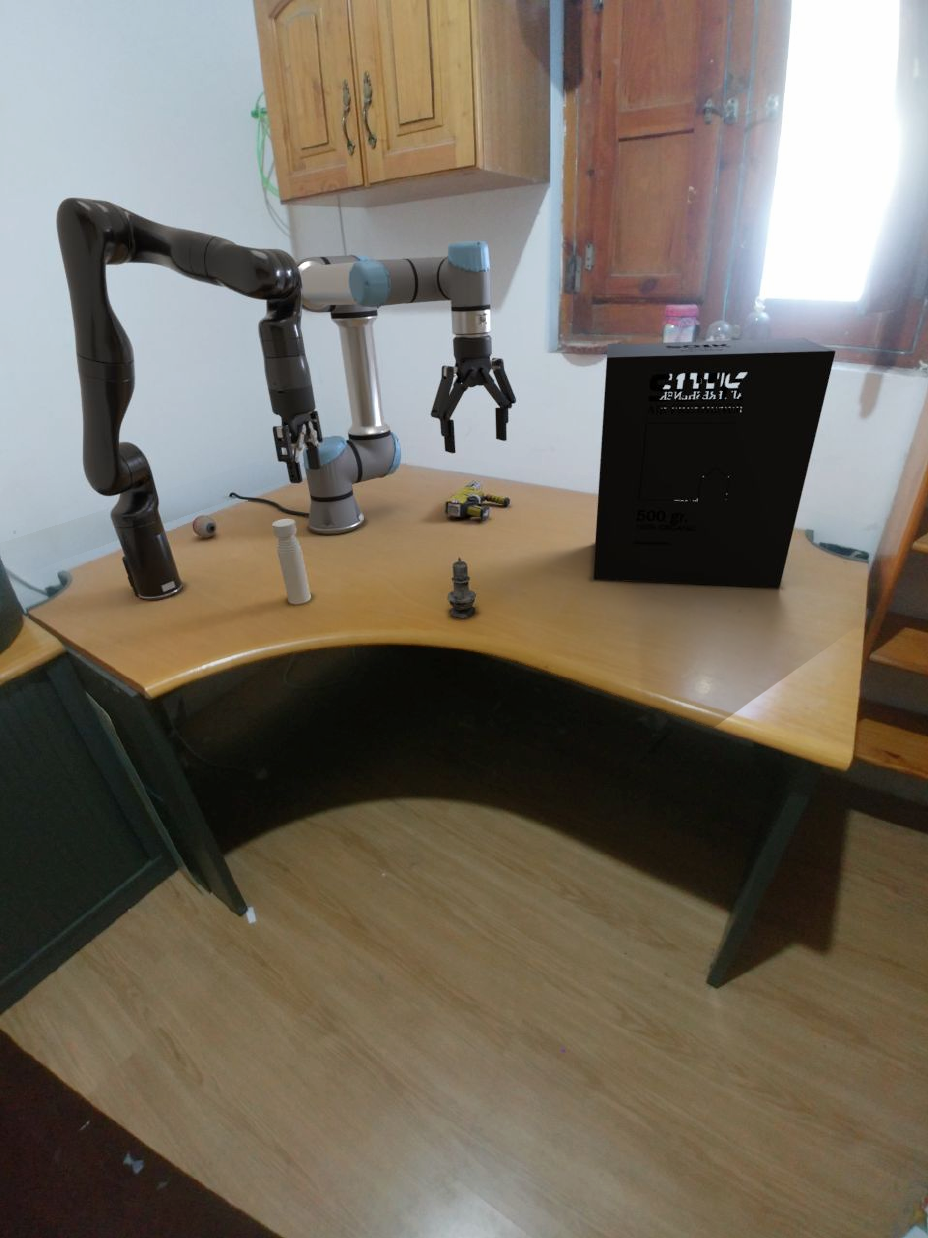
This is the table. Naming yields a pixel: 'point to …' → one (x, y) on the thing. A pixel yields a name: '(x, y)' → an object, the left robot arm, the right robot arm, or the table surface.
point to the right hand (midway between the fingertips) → (476, 445)
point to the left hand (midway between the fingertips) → (306, 475)
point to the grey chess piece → (461, 592)
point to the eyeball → (204, 526)
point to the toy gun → (472, 502)
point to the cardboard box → (706, 459)
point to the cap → (284, 528)
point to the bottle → (293, 570)
